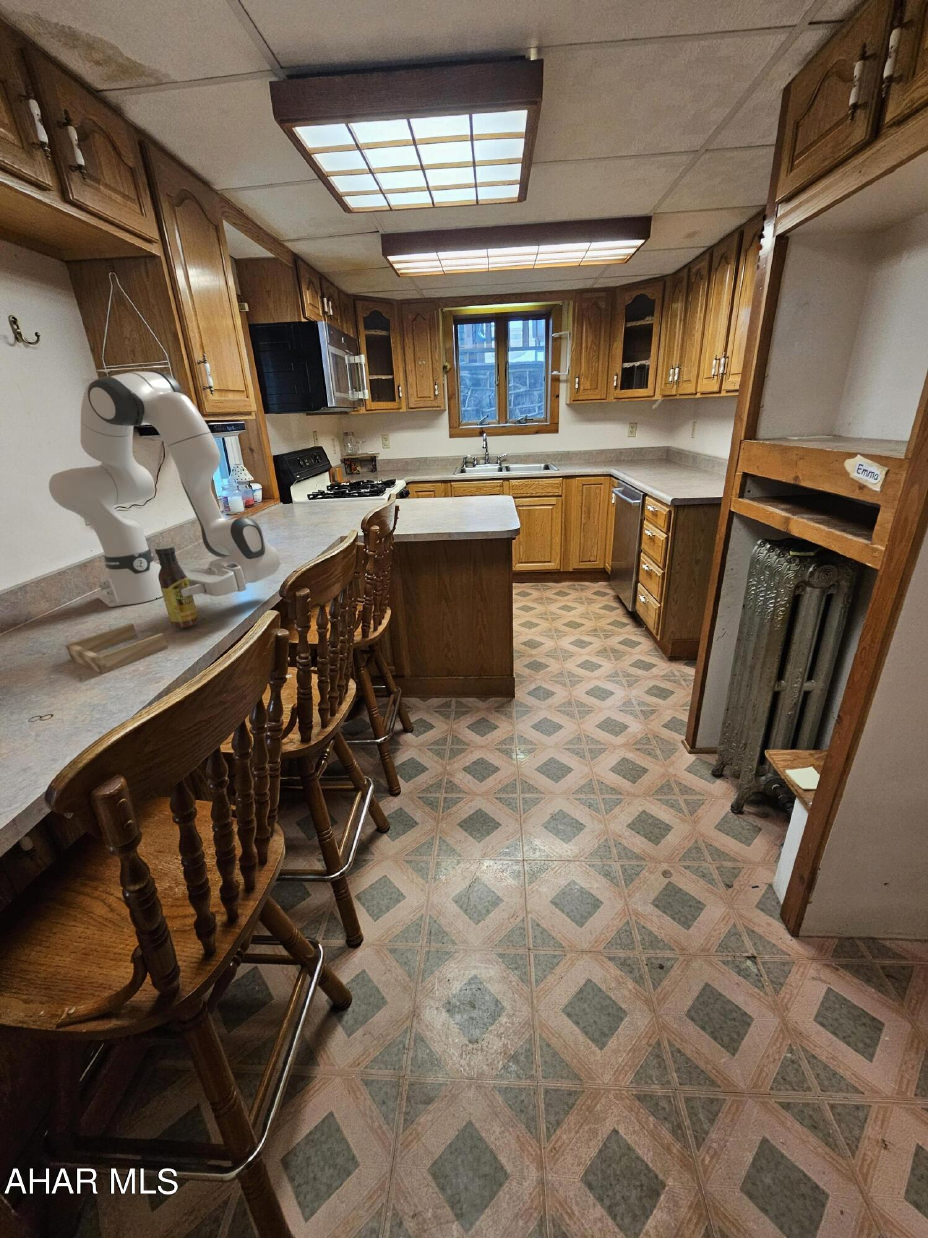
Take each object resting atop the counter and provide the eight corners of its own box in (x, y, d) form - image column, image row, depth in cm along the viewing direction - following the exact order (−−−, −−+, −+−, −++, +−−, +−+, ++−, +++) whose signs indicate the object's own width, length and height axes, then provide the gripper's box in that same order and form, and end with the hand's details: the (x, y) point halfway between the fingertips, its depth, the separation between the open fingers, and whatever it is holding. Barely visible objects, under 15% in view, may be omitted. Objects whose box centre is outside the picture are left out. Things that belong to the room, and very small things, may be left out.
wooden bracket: (168, 647, 112) (163, 634, 111) (102, 673, 101) (96, 659, 100) (135, 636, 120) (130, 623, 119) (71, 659, 110) (65, 645, 108)
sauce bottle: (188, 629, 119) (163, 551, 111) (166, 629, 120) (140, 551, 113) (206, 619, 125) (184, 543, 117) (185, 618, 126) (162, 544, 118)
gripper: (199, 560, 133) (147, 574, 123) (244, 567, 122) (191, 583, 112) (205, 581, 136) (155, 597, 125) (250, 590, 125) (198, 609, 114)
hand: (172, 591), depth 118 cm, fingers closed on sauce bottle, 6 cm apart
